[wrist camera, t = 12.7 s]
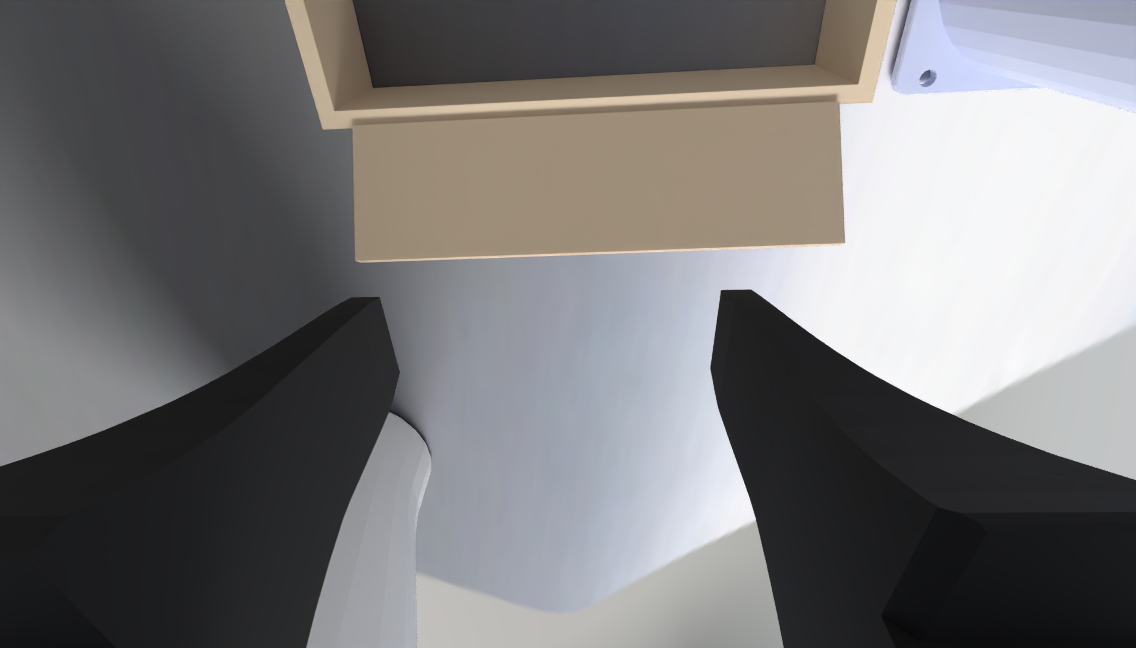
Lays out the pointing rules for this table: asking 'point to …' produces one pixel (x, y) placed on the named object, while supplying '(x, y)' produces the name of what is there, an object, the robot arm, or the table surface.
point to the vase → (377, 550)
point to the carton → (595, 150)
